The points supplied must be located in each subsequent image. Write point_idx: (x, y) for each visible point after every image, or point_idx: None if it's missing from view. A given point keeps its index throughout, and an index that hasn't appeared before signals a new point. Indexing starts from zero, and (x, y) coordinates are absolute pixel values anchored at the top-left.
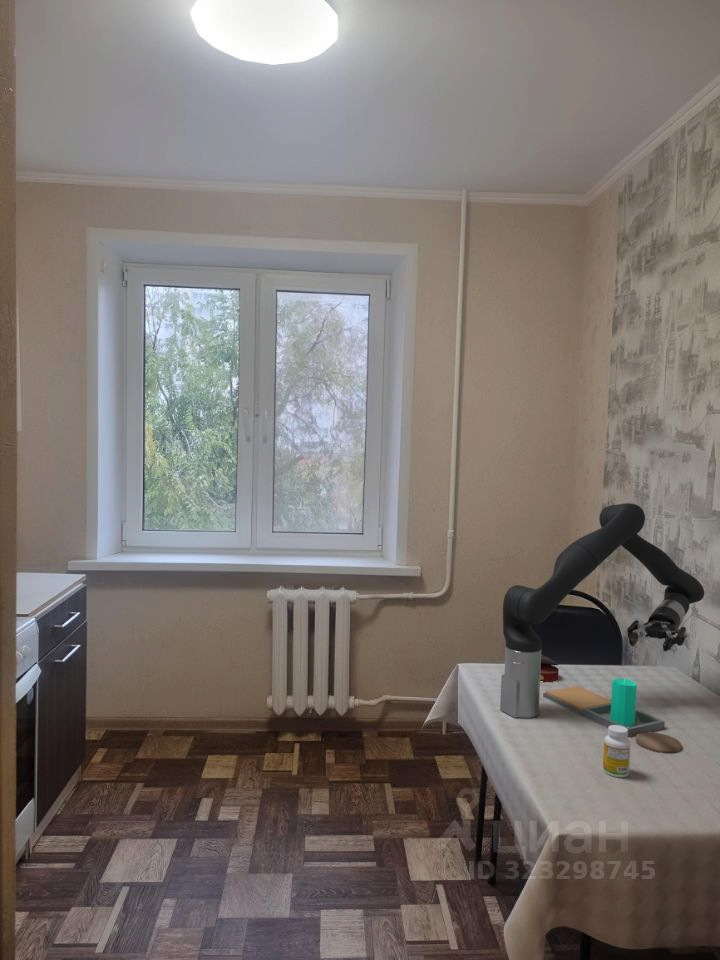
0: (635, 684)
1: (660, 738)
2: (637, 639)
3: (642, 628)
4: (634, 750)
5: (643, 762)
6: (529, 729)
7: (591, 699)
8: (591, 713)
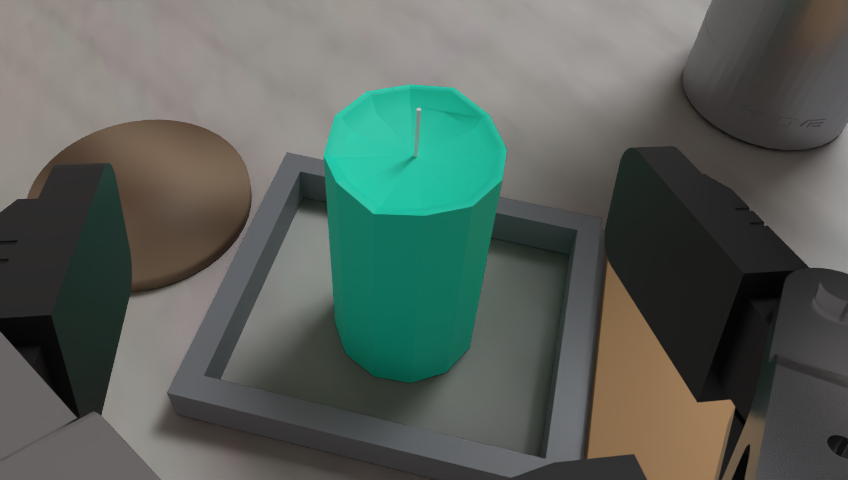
0: (338, 169)
1: (138, 222)
2: (696, 365)
3: (787, 357)
4: (210, 95)
5: (144, 41)
6: (595, 7)
7: None
8: (533, 206)
